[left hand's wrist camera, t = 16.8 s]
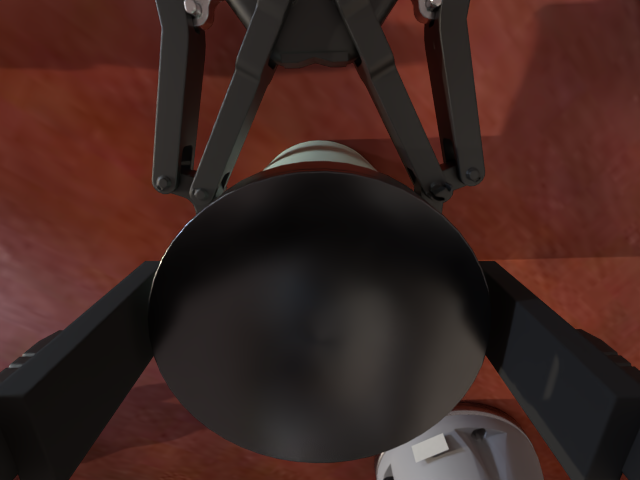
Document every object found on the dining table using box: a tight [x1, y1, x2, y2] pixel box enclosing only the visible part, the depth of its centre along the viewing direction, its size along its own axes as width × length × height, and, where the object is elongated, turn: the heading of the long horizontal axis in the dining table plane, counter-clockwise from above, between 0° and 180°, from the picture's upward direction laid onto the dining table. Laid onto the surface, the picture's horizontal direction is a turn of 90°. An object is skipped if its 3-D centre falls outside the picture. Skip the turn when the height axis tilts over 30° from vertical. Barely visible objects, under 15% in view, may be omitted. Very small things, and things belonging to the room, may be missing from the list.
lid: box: [148, 161, 491, 463], centre depth 11 cm, size 10×10×2 cm
